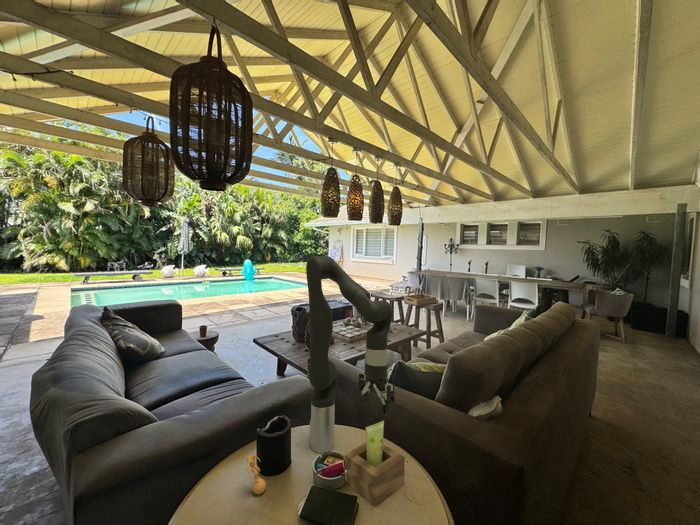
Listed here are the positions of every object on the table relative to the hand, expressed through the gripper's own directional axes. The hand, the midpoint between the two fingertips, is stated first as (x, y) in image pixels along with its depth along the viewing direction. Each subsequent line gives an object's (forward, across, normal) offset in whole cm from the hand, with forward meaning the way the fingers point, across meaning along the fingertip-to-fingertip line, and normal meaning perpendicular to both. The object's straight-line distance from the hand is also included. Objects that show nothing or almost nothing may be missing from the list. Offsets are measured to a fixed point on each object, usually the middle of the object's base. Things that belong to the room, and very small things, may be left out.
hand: (375, 409), depth 98 cm
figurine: (+25, -22, -31) cm, 45 cm away
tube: (+24, 0, 0) cm, 24 cm away
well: (+24, 0, 0) cm, 24 cm away
